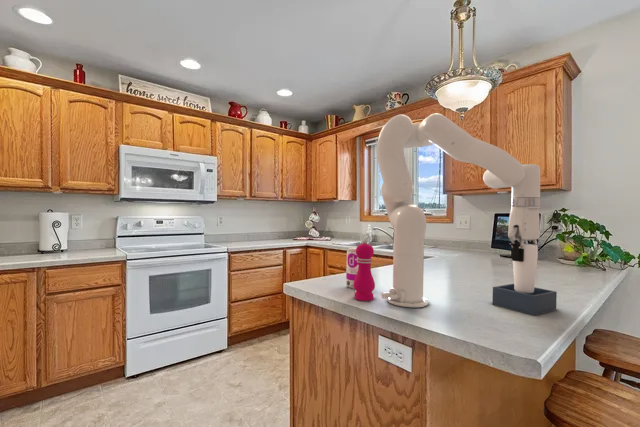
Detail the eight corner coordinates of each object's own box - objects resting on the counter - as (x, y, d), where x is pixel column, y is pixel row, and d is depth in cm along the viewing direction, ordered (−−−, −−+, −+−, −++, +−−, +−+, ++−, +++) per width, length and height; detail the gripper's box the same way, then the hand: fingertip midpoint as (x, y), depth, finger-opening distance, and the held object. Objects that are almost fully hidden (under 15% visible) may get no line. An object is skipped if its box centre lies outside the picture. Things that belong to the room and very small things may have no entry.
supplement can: (361, 290, 117) (362, 249, 117) (342, 287, 121) (343, 248, 121) (370, 286, 124) (371, 248, 124) (352, 283, 128) (352, 246, 128)
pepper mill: (360, 302, 101) (361, 240, 101) (349, 296, 108) (350, 238, 108) (379, 300, 104) (380, 239, 104) (367, 294, 110) (368, 237, 110)
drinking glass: (541, 295, 95) (542, 245, 95) (516, 293, 97) (517, 245, 97) (531, 290, 102) (531, 243, 102) (508, 288, 103) (508, 243, 103)
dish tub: (534, 315, 91) (535, 296, 91) (492, 304, 102) (492, 286, 102) (556, 309, 97) (556, 291, 97) (514, 299, 108) (514, 283, 108)
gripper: (527, 205, 107) (526, 257, 107) (497, 203, 98) (496, 260, 98) (552, 204, 100) (551, 260, 100) (522, 202, 92) (521, 264, 92)
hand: (524, 260), depth 99 cm, fingers closed on drinking glass, 6 cm apart
